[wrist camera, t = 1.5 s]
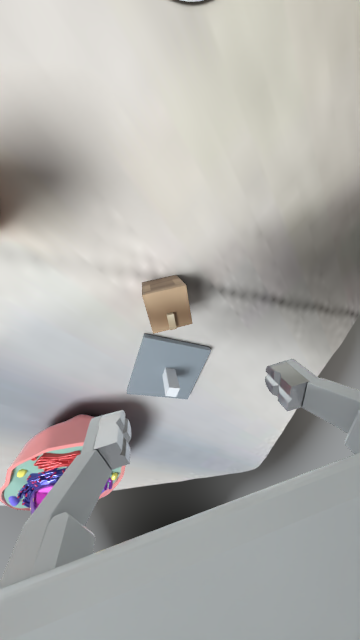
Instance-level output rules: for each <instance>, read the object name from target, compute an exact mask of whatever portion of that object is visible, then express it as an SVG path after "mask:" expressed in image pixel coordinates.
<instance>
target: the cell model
mask: <svg viewBox="0 0 360 640" xmlns="http://www.w3.org/2000/svg"><path fill="white" fill-rule="evenodd" d="M92 418H94V417H93V416H90V415H86V414H80V415H77V416H75V417H73V418H71V419H69V420H67V421H65V422H61V423H58V424H56V425H53V426H51V427H48V428H46V429H44V430H43V431H41V432H39V433H38V434H36V435H35V436H33V437H32V438H31V439H29V440H28V441H27V443H26V444H25V445H24V447H23V448H22V450H21V452H20V453H19V455H18V456H17V457H16V459H15V460H14V462H13V463H12V464H11V466H10V467H9V469H8V470H7V475H6V481H5V482H4V484H3V485H2V486H1V488H0V501H1V502H2V503H4V504H5V505H7V506H9V507H11V508H13V509H17V510H30V511H31V515H32V514H33V512H34V511H35V510H36V508H37V507H38V506H39V504H40V503H41V502H42V501H43V499H44V498H45V497H46V495H47V494H48V493H49V491H50V490H51V489H52V488H53V486H54V485H55V484H56V482H57V481H58V480H59V478H60V477H61V476H62V475H63V473H64V472H65V471H66V469H67V468H68V467H69V466H70V464H71V463H72V462H73V460H74V459H75V458H76V456H77V455H80V454H81V451H82V448H83V444H84V441H85V437H86V434H87V430H88V427H89V424H90V421H91V419H92ZM124 471H125V465H124V466H122V467H119V468H116V469H114V470H112V472H111V474H110V476H109V479H108V481H107V483H106V485H105V487H104V489H103V491H102V493H101V495H100V497H99V498H102V497H104V496H106V495H108V494H109V493H110V492H111V491H112V490H113V489H114V488H115V487H116V486H117V485H118V483H119V482H120V481H121V479H122V477H123V475H124Z"/></svg>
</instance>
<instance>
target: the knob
mask: <svg viewBox="0 0 360 640" xmlns="http://www.w3.org/2000/svg"><path fill="white" fill-rule="evenodd" d="M142 296H143V300H144V303H145V307H146V310H147V314H148V317H149V320H150V324H151V327H152V331H153V334H154V333H158V332H162V331H166V330H174V329H177V327H181V326H185V325H189V324H192V319H191V312H190V306H189V300H188V294H187V287H186V285H185V283H184V282H183V281H182V280H181V279H180V278H179V277H178V276H177V275H174V276H169V277H165V278H160V279H156V280H151V281H147V282H142Z"/></svg>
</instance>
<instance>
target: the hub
mask: <svg viewBox="0 0 360 640" xmlns="http://www.w3.org/2000/svg"><path fill="white" fill-rule="evenodd" d="M210 352H211V350H210V348H209V347H207V346H202V345H197V344H192V343H188V342H183V341H178V340H173V339H168V338H163V337H158V336H154V335H149V334H144V336H143V339H142V343H141V346H140V349H139V352H138V356H137V359H136V362H135V365H134V369H133V372H132V375H131V378H130V382H129V385H128V388H127V394H136V395H147V396H158V397H169V398H180V399H188V397H189V395H190V393H191V391H192V389H193V387H194V385H195V383H196V381H197V378H198V376H199V374H200V372H201V370H202V368H203V366H204V364H205V362H206V360H207V358H208V356H209V354H210Z"/></svg>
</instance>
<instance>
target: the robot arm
mask: <svg viewBox="0 0 360 640" xmlns="http://www.w3.org/2000/svg"><path fill="white" fill-rule="evenodd" d="M181 1H187V2H195V1H202V0H181ZM266 372H267V373H268V374H267V376H266V377H265V382H266V385H267V387H268V389H269V391H270V392H271V393H272V394H273V395H276V396H278V401H279V402H280V404H281V405H282V406H283V407H284V408H285V409H286V410H287V411H290V410H293V409H297V408H299V407H302V408H303V409H305V410H307V411H309V412H311V413H312V414H314V415H316V416H318V417H319V418H321V419H323V420H325V421H327V422H328V423H330V424H332V425H334V426H336V427H337V428H339V429H341V430H343V431H344V432H346V433H348V435H347V437H346V439H345V445H346V446H347V447H348V448H349V449H350V450H351V451H352V452H353V453H354V454H355V455H352V456H349V457H347V458H344V459H342V460H339V461H336V462H334V463H331V464H328V465H326V466H323V467H320V468H318V469H315V470H312V471H310V472H307V473H305V474H302V475H299V476H297V477H294V478H291V479H289V480H286V481H283V482H281V483H278V484H276V485H273V486H270V487H268V488H265V489H263V490H260V491H257V492H254V493H252V494H249V495H247V496H244V497H241V498H239V499H236V500H233V501H231V502H228V503H225V504H223V505H220V506H218V507H215V508H212V509H210V510H207V511H204V512H202V513H199V514H196V515H194V516H191V517H189V518H186V519H183V520H181V521H178V522H175V523H173V524H170V525H167V526H165V527H162V528H160V529H157V530H154V531H152V532H149V533H146V534H144V535H141V536H138V537H136V538H133V539H131V540H128V541H126V542H123V543H120V544H118V545H115V546H112V547H109V548H107V549H104V550H102V551H99V552H96V553H94V554H93V550H94V544H95V535H94V534H93V533H92V532H91V531H90V530H88V529H87V528H86V527H85V525H86V523H87V521H88V519H89V517H90V515H91V513H92V511H93V509H94V507H95V505H96V503H97V501H98V499H99V497H100V495H101V493H102V491H103V489H104V487H105V485H106V483H107V481H108V479H109V476H110V474H111V472H112V470H114V469H116V468H119V467H122V466H124V465H127V464H130V450H131V448H130V446H129V444H128V443H129V441H130V440H131V426H130V422H129V420H128V419H127V418H125V412H124V410H120V411H116V412H112V413H109V414H105V415H101V416H98V417H94V418H92V419H91V421H90V424H89V427H88V430H87V434H86V437H85V441H84V444H83V448H82V451H81V454H80V455H77V456H76V458H75V459H74V460H73V462H72V463H71V464H70V466H69V467H68V468H67V469H66V471H65V472H64V473H63V475H62V476H61V477H60V478H59V480H58V481H57V482H56V484H55V485H54V486H53V488H52V489H51V490H50V491H49V493H48V494H47V495H46V497H45V498H44V499H43V501H42V502H41V503H40V504H39V506H38V507H37V508H36V510H35V511H34V512H33V514H32V515H31V516H30V517H29V519H28V520H27V521H26V523H25V524H24V526H23V528H22V530H21V533H20V535H19V537H18V540H17V542H16V545H15V547H14V549H13V552H12V554H11V557H10V559H9V561H8V564H7V566H6V569H5V571H4V573H3V576H2V578H1V580H0V640H360V390H357V389H354V388H350V387H348V386H345V385H342V384H339V383H336V382H333V381H330V380H327V379H323V378H320V379H319V378H318V377H317V376H315V375H314V374H313V373H311V372H310V371H309V370H307V369H306V368H305V367H304V366H302V365H301V364H300V363H298V362H297V361H296V360H294V359H290V360H287V361H283V362H279V363H276V364H273V365H270V366H267V368H266Z"/></svg>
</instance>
